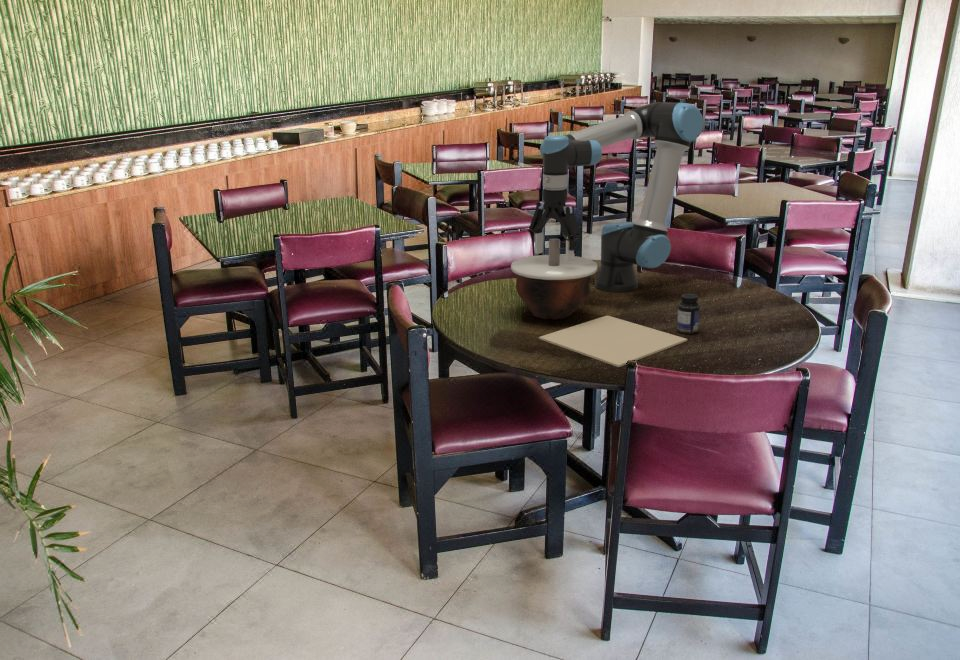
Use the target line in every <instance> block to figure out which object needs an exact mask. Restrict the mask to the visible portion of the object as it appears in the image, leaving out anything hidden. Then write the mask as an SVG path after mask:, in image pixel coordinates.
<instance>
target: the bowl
mask: <svg viewBox="0 0 960 660" xmlns="http://www.w3.org/2000/svg"><path fill="white" fill-rule="evenodd" d="M591 276H592V275H590V276H586V277H582V278H576V279H567V280H544V279H534V278H528V277H524V276H520V275H518V274H516V284H515V288H516V292H517V294H518V296H519V297H520V299H521V301H523V303H524V304H525V306H526V307H527V308H528V309H529V311H530V312H531V314H532V315H533V316H534V317H536V318H539V319H545V320H550V319H551V320H554V321H556V320H563V319H565V318H568V317H570V316H571V315H572V314H573V313H574V312H575V311H576V310H577V309H578V308H579V307H581V305H582V304H583V303H584V302H585V301H586V300H587V299H588V298H589V296H590V292H591V288H590V287H591V286H590V284H591V283H590V281H591Z"/></svg>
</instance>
